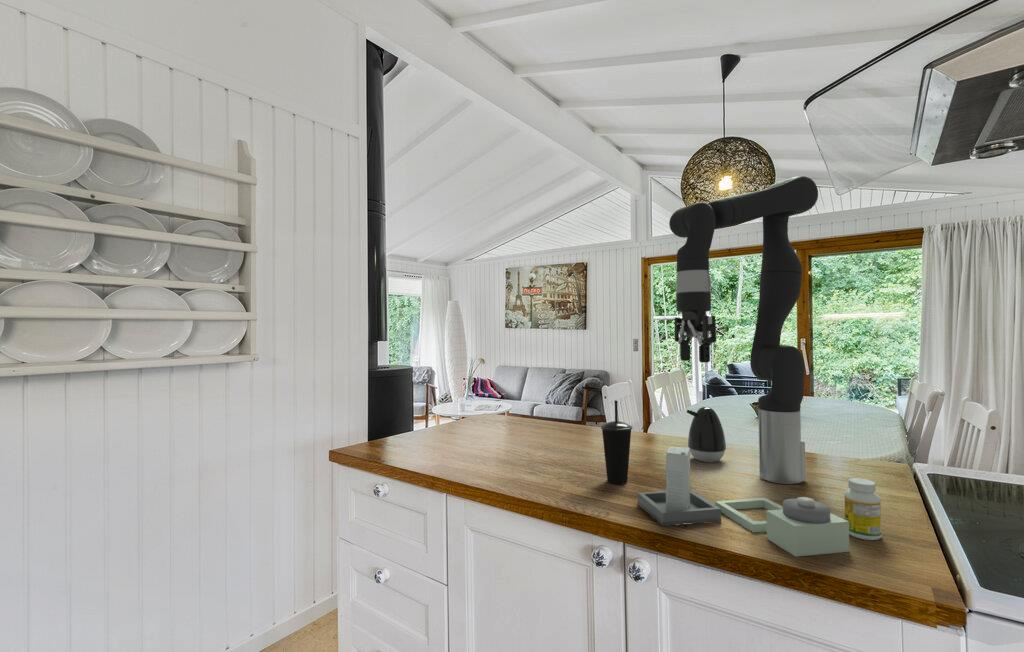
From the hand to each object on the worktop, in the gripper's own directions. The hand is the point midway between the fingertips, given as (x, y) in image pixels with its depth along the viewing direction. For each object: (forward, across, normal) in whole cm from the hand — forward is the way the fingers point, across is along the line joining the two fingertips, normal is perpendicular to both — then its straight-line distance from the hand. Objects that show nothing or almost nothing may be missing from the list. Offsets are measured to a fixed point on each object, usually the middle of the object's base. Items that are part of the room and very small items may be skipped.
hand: (694, 361), depth 113 cm
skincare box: (+30, -11, +10) cm, 33 cm away
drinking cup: (+30, +11, +15) cm, 36 cm away
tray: (+30, -11, +10) cm, 34 cm away
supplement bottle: (+30, -27, -17) cm, 44 cm away
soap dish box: (+30, -21, -4) cm, 37 cm away
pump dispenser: (+30, +25, -17) cm, 43 cm away
